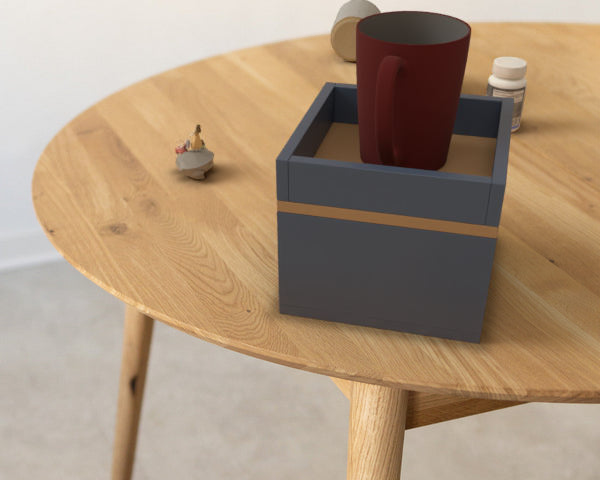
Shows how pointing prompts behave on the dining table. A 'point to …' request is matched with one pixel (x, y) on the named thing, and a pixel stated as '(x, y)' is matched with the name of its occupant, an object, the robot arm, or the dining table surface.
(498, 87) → the pill bottle
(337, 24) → the ceramic mug
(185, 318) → the dining table surface
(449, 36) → the mug
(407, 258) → the box
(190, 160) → the figurine
